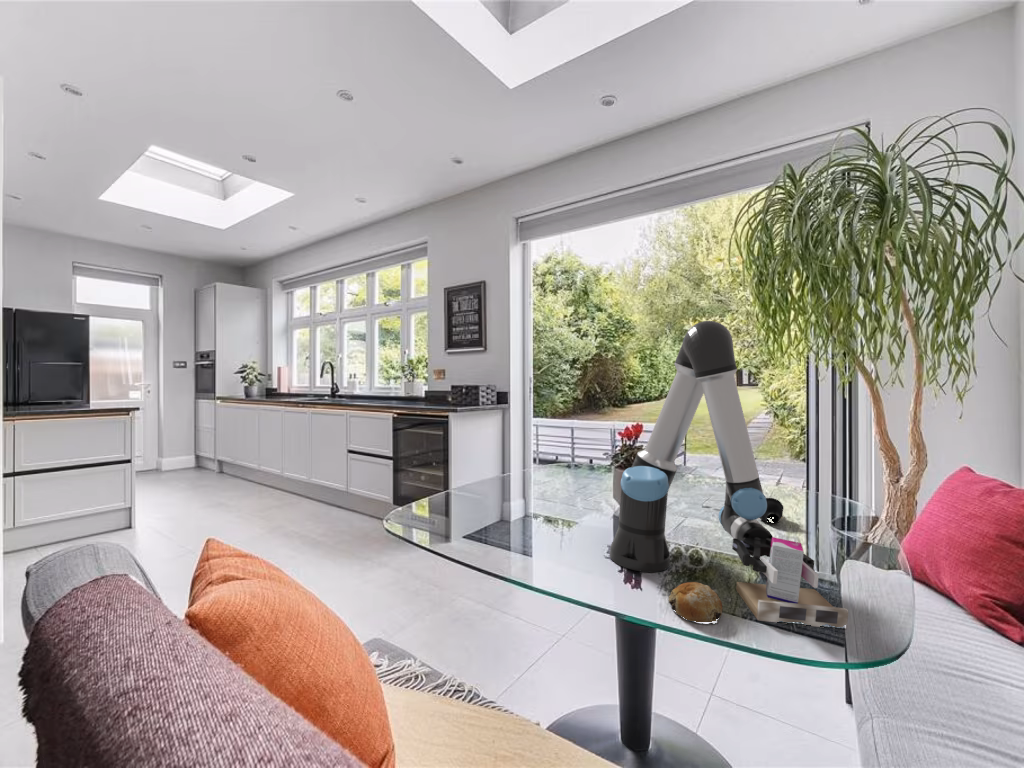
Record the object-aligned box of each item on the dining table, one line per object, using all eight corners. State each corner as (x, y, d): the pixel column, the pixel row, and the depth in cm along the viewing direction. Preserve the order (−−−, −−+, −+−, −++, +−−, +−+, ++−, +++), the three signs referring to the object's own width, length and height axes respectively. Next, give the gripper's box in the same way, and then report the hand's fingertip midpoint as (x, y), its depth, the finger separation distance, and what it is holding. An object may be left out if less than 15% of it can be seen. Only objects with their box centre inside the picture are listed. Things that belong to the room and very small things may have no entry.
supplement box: (799, 605, 99) (804, 551, 98) (766, 597, 101) (771, 544, 101) (796, 593, 104) (801, 542, 103) (765, 586, 107) (770, 536, 106)
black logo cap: (754, 511, 157) (743, 480, 173) (763, 538, 159) (751, 505, 176) (785, 505, 153) (770, 474, 170) (794, 532, 156) (778, 500, 172)
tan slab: (758, 621, 99) (760, 602, 98) (736, 590, 111) (737, 573, 111) (847, 630, 97) (848, 611, 96) (813, 597, 110) (815, 580, 109)
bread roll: (699, 646, 95) (720, 617, 92) (656, 606, 101) (675, 578, 98) (716, 626, 103) (736, 599, 100) (676, 590, 108) (693, 564, 106)
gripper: (792, 554, 119) (846, 602, 96) (709, 547, 121) (742, 592, 99) (795, 525, 119) (850, 566, 96) (711, 518, 121) (745, 556, 98)
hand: (795, 579), depth 97 cm, fingers closed on supplement box, 7 cm apart
